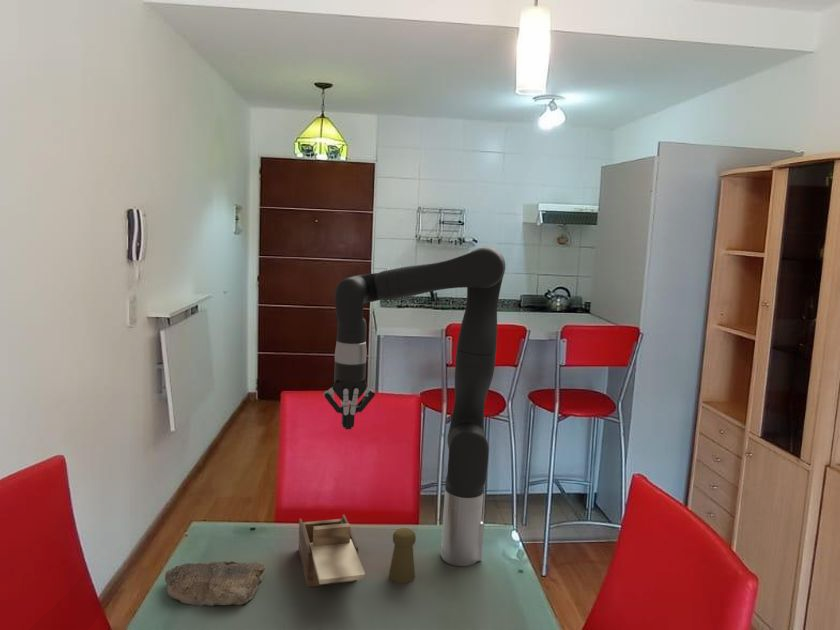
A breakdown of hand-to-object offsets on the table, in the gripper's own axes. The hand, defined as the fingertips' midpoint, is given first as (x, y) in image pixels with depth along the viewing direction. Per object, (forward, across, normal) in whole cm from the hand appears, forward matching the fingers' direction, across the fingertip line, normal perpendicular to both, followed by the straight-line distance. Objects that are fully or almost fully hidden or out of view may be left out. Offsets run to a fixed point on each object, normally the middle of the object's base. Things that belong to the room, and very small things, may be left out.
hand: (347, 428), depth 157 cm
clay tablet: (+30, -31, -15) cm, 46 cm away
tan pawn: (+29, +10, -19) cm, 36 cm away
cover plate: (+22, -6, -22) cm, 32 cm away
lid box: (+29, -6, -11) cm, 32 cm away
